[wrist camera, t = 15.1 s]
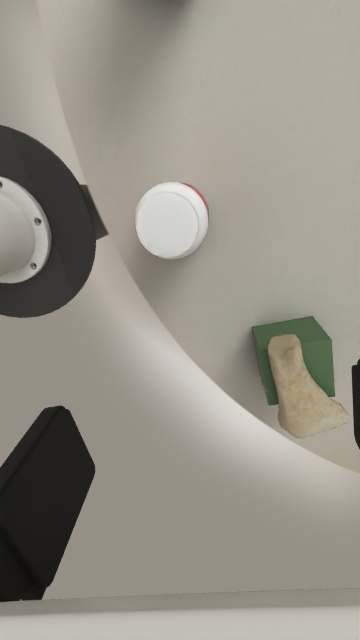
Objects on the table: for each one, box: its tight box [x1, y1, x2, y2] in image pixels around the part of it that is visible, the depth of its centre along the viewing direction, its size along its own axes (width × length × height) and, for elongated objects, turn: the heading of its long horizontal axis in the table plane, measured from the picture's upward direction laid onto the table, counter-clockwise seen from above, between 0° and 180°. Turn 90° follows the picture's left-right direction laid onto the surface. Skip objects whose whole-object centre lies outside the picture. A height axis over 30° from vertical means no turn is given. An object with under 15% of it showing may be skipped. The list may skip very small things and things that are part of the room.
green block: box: [252, 316, 335, 405], centre depth 35 cm, size 7×7×6 cm
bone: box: [268, 334, 348, 438], centre depth 31 cm, size 11×6×5 cm, turn 37°
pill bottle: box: [135, 182, 209, 259], centre depth 28 cm, size 6×6×11 cm
